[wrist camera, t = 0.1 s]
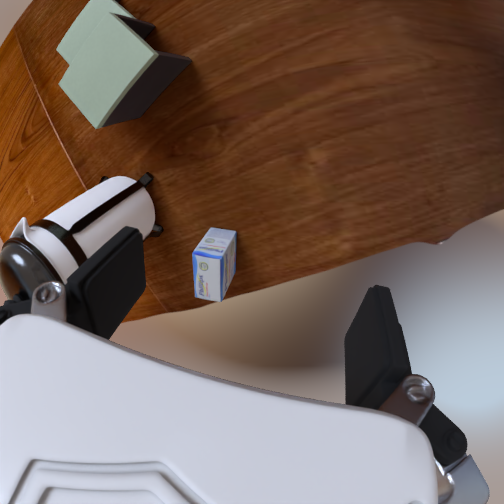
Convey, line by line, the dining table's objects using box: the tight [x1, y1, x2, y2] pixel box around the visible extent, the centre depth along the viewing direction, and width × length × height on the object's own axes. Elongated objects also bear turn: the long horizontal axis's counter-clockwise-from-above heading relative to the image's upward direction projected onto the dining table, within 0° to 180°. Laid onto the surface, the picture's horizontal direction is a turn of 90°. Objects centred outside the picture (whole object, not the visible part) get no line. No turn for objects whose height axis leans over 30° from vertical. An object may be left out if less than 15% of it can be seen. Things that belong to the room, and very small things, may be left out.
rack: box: [56, 0, 192, 129], centre depth 29 cm, size 12×20×11 cm, turn 41°
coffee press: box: [0, 172, 164, 306], centre depth 35 cm, size 17×16×30 cm
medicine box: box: [192, 227, 237, 302], centre depth 45 cm, size 8×4×9 cm, turn 177°
